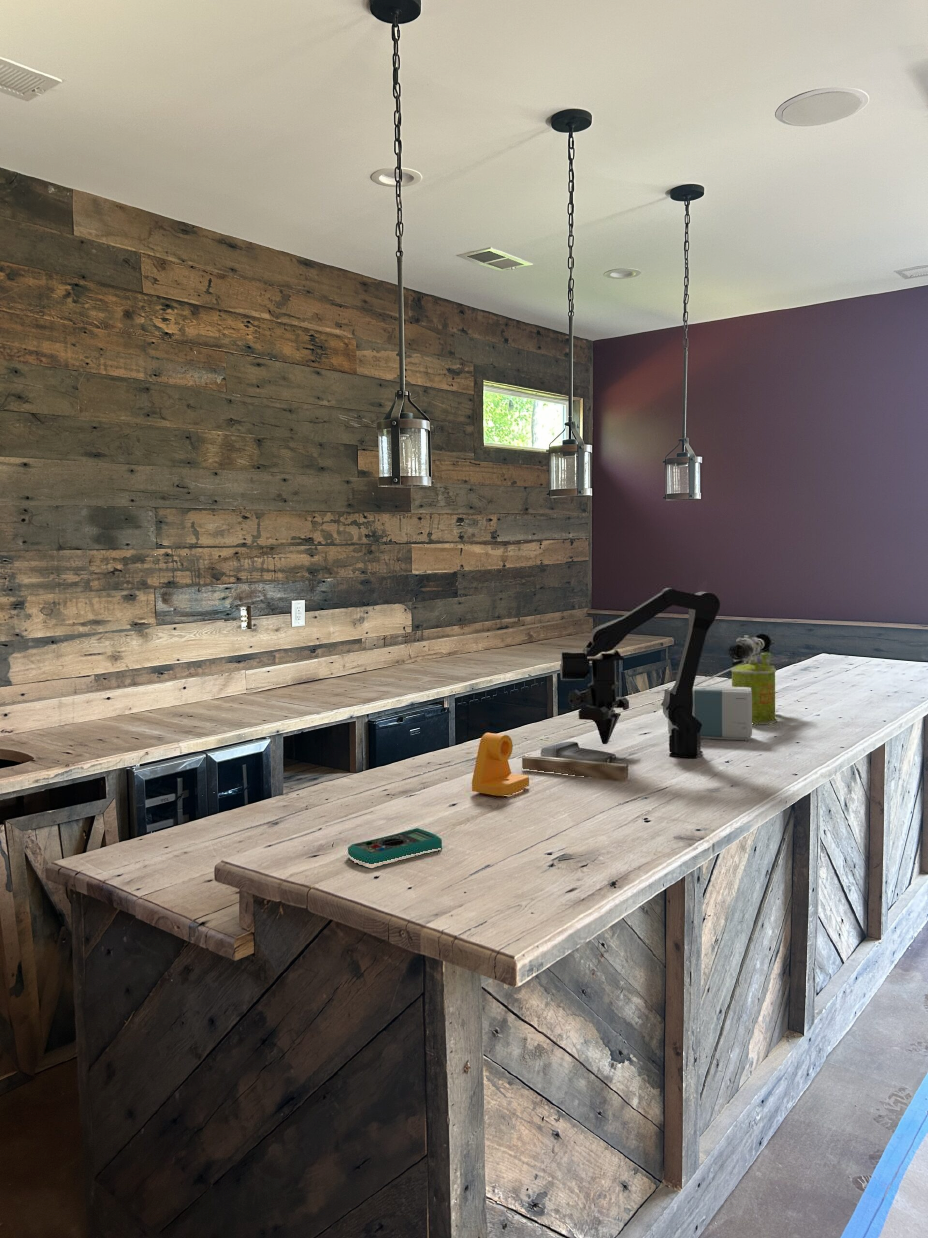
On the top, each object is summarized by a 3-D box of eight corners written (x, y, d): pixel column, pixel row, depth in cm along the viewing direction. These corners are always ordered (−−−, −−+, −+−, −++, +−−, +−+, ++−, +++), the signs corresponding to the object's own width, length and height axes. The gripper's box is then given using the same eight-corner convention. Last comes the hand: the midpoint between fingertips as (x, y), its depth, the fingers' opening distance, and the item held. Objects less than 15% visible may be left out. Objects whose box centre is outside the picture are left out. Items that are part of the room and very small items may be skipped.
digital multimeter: (344, 861, 148) (343, 843, 148) (419, 842, 157) (418, 825, 157) (367, 873, 143) (367, 855, 142) (444, 852, 152) (443, 835, 151)
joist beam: (628, 778, 196) (628, 763, 196) (623, 781, 194) (623, 766, 194) (528, 768, 208) (527, 754, 208) (522, 770, 206) (522, 756, 205)
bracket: (500, 800, 182) (499, 741, 181) (472, 795, 186) (470, 737, 185) (531, 788, 190) (530, 732, 189) (503, 784, 195) (502, 728, 194)
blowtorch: (790, 713, 270) (790, 629, 268) (761, 732, 242) (761, 639, 240) (745, 710, 277) (745, 628, 275) (712, 728, 249) (712, 637, 247)
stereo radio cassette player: (667, 738, 238) (666, 662, 236) (672, 732, 245) (671, 659, 244) (751, 743, 230) (750, 664, 228) (753, 736, 237) (753, 660, 236)
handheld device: (610, 777, 199) (610, 756, 199) (536, 765, 212) (536, 746, 212) (633, 769, 206) (632, 748, 206) (560, 758, 219) (559, 739, 219)
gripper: (586, 673, 229) (587, 734, 230) (557, 682, 212) (558, 748, 214) (629, 674, 223) (630, 737, 224) (602, 685, 207) (603, 752, 208)
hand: (605, 743), depth 218 cm, fingers closed
